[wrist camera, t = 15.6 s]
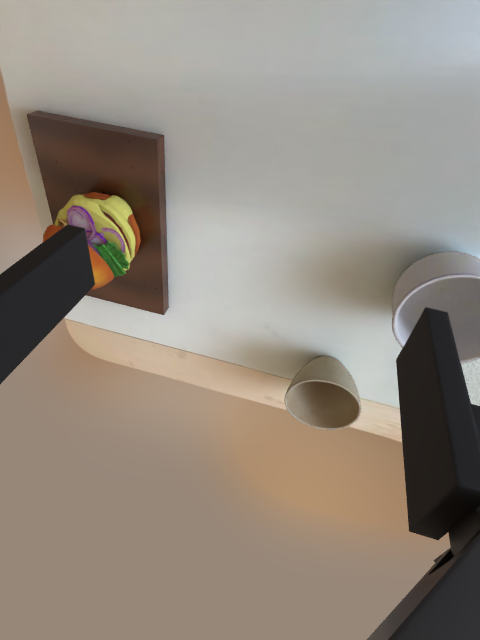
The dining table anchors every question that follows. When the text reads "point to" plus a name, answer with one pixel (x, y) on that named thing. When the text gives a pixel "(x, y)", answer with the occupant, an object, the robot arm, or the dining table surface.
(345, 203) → the dining table surface
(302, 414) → the bowl
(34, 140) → the serving board
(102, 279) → the cheeseburger
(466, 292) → the teacup
